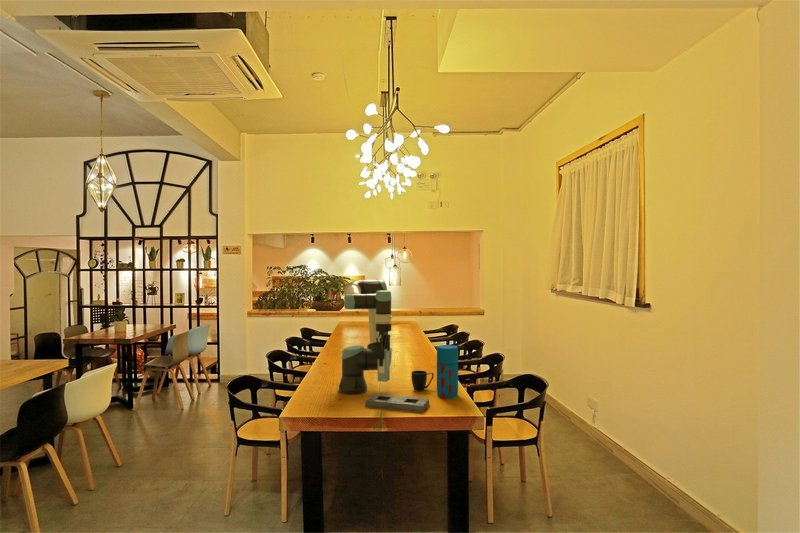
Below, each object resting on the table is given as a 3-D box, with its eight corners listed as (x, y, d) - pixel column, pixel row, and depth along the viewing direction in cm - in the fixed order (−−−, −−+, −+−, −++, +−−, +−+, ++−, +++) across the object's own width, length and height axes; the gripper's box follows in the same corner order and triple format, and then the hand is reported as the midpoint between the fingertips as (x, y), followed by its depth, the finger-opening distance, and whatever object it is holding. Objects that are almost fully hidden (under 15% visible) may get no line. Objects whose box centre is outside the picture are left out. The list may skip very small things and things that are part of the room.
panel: (365, 406, 213) (365, 399, 213) (374, 399, 224) (374, 393, 224) (422, 412, 204) (422, 405, 204) (429, 404, 215) (429, 398, 215)
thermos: (444, 391, 239) (444, 344, 239) (462, 395, 232) (461, 346, 232) (432, 396, 230) (432, 347, 230) (450, 400, 223) (450, 349, 223)
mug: (435, 391, 239) (435, 373, 239) (412, 392, 238) (412, 374, 238) (432, 387, 247) (432, 370, 247) (410, 388, 246) (410, 370, 246)
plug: (377, 381, 214) (377, 349, 215) (380, 378, 219) (380, 348, 219) (386, 381, 213) (386, 350, 213) (389, 379, 217) (389, 348, 218)
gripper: (384, 325, 207) (384, 376, 206) (396, 321, 223) (396, 368, 223) (369, 324, 209) (369, 375, 209) (382, 320, 226) (382, 367, 225)
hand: (383, 371), depth 216 cm, fingers closed on plug, 4 cm apart
